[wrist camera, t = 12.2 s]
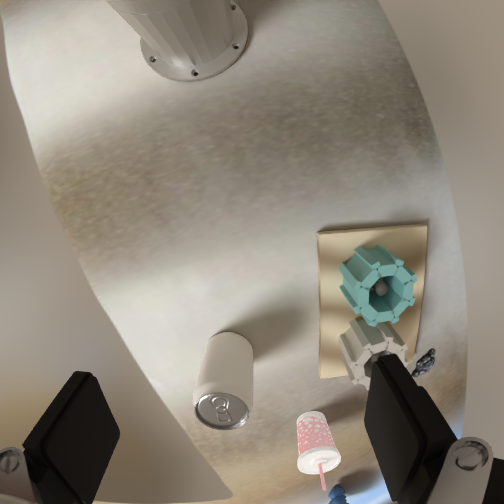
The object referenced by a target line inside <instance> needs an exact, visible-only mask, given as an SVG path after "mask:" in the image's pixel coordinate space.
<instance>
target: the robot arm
mask: <svg viewBox="0 0 504 504" xmlns="http://www.w3.org/2000/svg"><path fill="white" fill-rule="evenodd" d="M106 1H107V2H108V3H109V4H110V5H111V6H112V8H113V9H114V10H115V11H116V12H117V13H118V14H119V15H120V16H121V17H122V18H123V19H124V20H125V21H126V22H127V23H128V24H129V25H130V26H131V27H132V28H133V29H134V30H135V31H136V32H137V33H138V34H139V35H140V36H141V40H140V45H141V51H142V54H143V57H144V59H145V60H146V62H147V63H148V65H149V66H150V67H151V68H152V69H153V70H154V71H156V72H157V73H159V74H160V75H161V76H164V77H166V78H168V79H171V80H175V81H182V82H192V81H200V80H204V79H208V78H211V77H213V76H215V75H217V74H220V73H221V72H223V71H224V70H226V69H227V68H229V67H230V66H231V65H232V64H233V63H234V62H235V61H236V60H237V59H238V57H239V56H240V55H241V53H242V51H243V49H244V47H245V45H246V42H247V37H248V25H247V20H246V17H245V14H244V12H243V11H242V9H241V8H240V6H239V5H238V4H237V3H236V2H234V1H233V0H106ZM232 9H234V10H232ZM235 47H238V49H234V48H235ZM154 60H156V61H155V62H153V61H154ZM195 73H198V75H197V76H194V74H195ZM364 423H365V428H366V431H367V433H368V436H369V439H370V441H371V444H372V447H373V449H374V452H375V455H376V458H377V460H378V463H379V466H380V469H381V471H382V474H383V477H384V480H385V483H386V485H387V488H388V491H389V494H390V497H391V499H392V501H393V502H395V501H397V502H398V504H504V460H502V459H498V458H493V451H492V448H491V447H490V445H489V444H488V443H487V442H485V441H484V440H482V439H480V438H476V437H465V438H461V439H459V440H458V439H457V438H456V436H455V434H454V433H453V431H452V430H451V428H450V426H449V425H448V423H447V422H446V420H445V419H444V417H443V416H442V414H441V412H440V411H439V409H438V408H437V406H436V405H435V403H434V402H433V400H432V399H431V397H430V396H429V394H428V393H427V391H426V390H425V389H424V388H423V387H422V386H418V385H417V384H416V382H415V381H414V379H413V378H412V376H411V375H410V373H409V372H408V370H407V369H406V367H405V366H404V364H403V363H402V361H401V360H400V358H399V357H398V355H397V354H395V353H394V354H388V355H383V356H379V357H378V359H377V361H374V362H373V364H372V371H371V379H370V386H369V393H368V399H367V406H366V412H365V418H364ZM119 437H120V430H119V428H118V425H117V423H116V421H115V419H114V417H113V415H112V413H111V410H110V408H109V406H108V404H107V402H106V399H105V397H104V395H103V392H102V390H101V388H100V385H99V383H98V380H97V378H96V377H94V376H93V375H92V374H91V373H90V372H82V371H75V372H74V373H73V374H72V376H71V377H70V378H69V380H68V381H67V382H66V384H65V385H64V386H63V388H62V389H61V390H60V392H59V393H58V394H57V396H56V397H55V399H54V400H53V402H52V403H51V404H50V406H49V407H48V408H47V410H46V411H45V413H44V414H43V415H42V417H41V418H40V420H39V421H38V423H37V424H36V425H35V427H34V428H33V430H32V431H31V433H30V434H29V435H28V437H27V439H26V440H25V441H24V443H23V444H22V446H23V447H24V448H25V450H24V452H22V451H21V450H20V449H18V448H16V447H7V448H4V449H2V450H0V504H92V503H93V500H94V498H95V495H96V492H97V490H98V488H99V485H100V483H101V480H102V478H103V475H104V473H105V471H106V468H107V466H108V463H109V461H110V459H111V456H112V454H113V451H114V449H115V447H116V444H117V442H118V440H119Z"/></svg>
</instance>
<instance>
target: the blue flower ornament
mask: <svg viewBox="0 0 504 504" xmlns="http://www.w3.org/2000/svg"><path fill="white" fill-rule="evenodd" d="M344 492H345V490H343V489H342V488H340V487H334V488H333V489H332V490H331V492H330V493H329V495H328V496H329V497H330V498H331V499H332V500H331V501H330V503H329V504H349V503H346V501H347V500H346V499H345V498H346V496H345V495H343V494H344Z"/></svg>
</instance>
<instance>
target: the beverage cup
mask: <svg viewBox="0 0 504 504" xmlns="http://www.w3.org/2000/svg"><path fill="white" fill-rule="evenodd" d="M297 433H298V450H299V458H298V459H297V462H298V469H299V470H300V471H301V472H304V473H306V474H320V478H321V483H322V488H323V491H326V485H325V479H324V474H323V473H324V472H327V471H330V470H332V469H333V468H335V467H336V466H337V465H338V464H339V463H340V460H341V455H340V453H339V451H338V450H337V449H336V446H335V444H334V441H333V438H332V435H331V432H330V429H329V427H328V424H327V421H326V418H325V416H324V415H323V413H321V412H318V411H310V412H306V413H304V414H302V415H301V416H300V417H299V418H298V420H297Z"/></svg>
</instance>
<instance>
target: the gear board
mask: <svg viewBox="0 0 504 504" xmlns="http://www.w3.org/2000/svg"><path fill="white" fill-rule="evenodd" d="M376 245H379V246H382V247H384V248H385V249H387V250H388V251H390V252H391V253H393V254H394V255H395V256H397V257H398V258H400V259H401V260H402V261H404V264H403V265H404V266H406V267H407V268H408V269H410V270H411V271H412V272H414V273H415V274H416V277H417V281H416V282H415V283H414V284H413V295H412V296H413V297H414V298H415V302H414V304H413V306H410V305H408V307H407V308H406V309H405V310H404V311H403V312H402V313H401V314H400V315H399V316H398V317H399V321H397V322H395V323H393V324H392V323H391V322H390V321H388V322H389V323H390V324H391V326H392V327H393V328H394V330H395V331H396V332H397V333H398V335H399V336H400V337H401V339H402V340H403V341H404V343H405V344H406V346H407V347H408V349H407V350H406V351H405V358H406V359H407V361H408V363H412V362H413V357H414V351H415V346H416V340H417V334H418V327H419V320H420V313H421V305H422V296H423V286H424V275H425V262H426V245H427V226H425V225H423V224H414V225H400V226H386V227H373V228H360V229H348V230H335V231H323V232H317V246H318V276H319V375H320V378H321V379H324V378H331V377H338V376H344V375H349V374H348V372H347V369H346V367H345V365H344V362H343V360H342V358H341V355H340V354H341V353H342V350H341V347H340V345H339V343H338V339H339V336H344V334H345V333H346V332H347V330H348V329H349V327H350V326H351V325H350V324H349V322H351V321H352V320H354V319H356V321H360V320H363V319H364V318H363V316H362V315H361V313H358V314H355V312H354V311H353V309H352V308H351V306H350V305H349V303H348V301H347V300H346V298H345V297H344V295H343V294H342V292H341V290H340V288H339V286H341V285H343V275H342V273H341V272H340V271H339V269H340V266H341V263H344V264H346V263H347V262H348V261H349V260H350V259H351V258H352V257H353V255H354V254H355V252H354V249H356V248H357V247H359V246H361V247H362V248H363V249H365V250H366V249H375V247H376ZM382 280H383V277H380V278H379V279H378V280H377V281H376V282H375V283H374V285H373V286H372V287H371V288H370V289H369V290H375V292H376V293H377V294H378V295H380V296H383V295H385V294H386V293H387V291H388V286H387V285H386V284H385V283H384V282H383V281H382ZM385 322H386V321H385ZM385 322H383V323H385ZM379 356H381V354H380V352H378V353H375V354H372V356H371V357H370V360H371V362H372V363H373V362H374V361H377V359H378V357H379Z"/></svg>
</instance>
